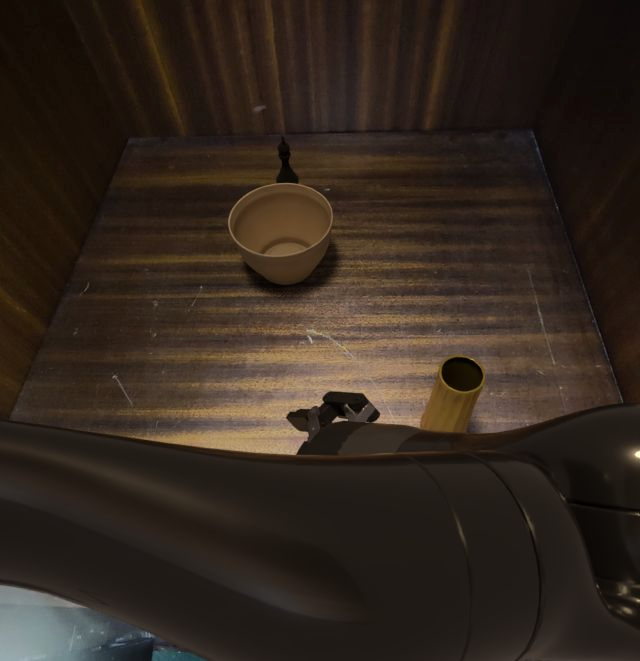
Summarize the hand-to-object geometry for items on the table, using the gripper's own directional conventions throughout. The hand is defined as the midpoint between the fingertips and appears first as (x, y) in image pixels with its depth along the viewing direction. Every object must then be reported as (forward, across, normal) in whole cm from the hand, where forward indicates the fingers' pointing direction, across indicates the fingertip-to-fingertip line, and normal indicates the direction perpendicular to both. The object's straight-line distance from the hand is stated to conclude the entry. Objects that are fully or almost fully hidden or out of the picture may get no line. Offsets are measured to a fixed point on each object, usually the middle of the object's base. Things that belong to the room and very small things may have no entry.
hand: (267, 456), depth 49 cm
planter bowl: (+30, -34, -4) cm, 46 cm away
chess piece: (+39, -52, -13) cm, 66 cm away
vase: (+5, -21, +21) cm, 30 cm away
